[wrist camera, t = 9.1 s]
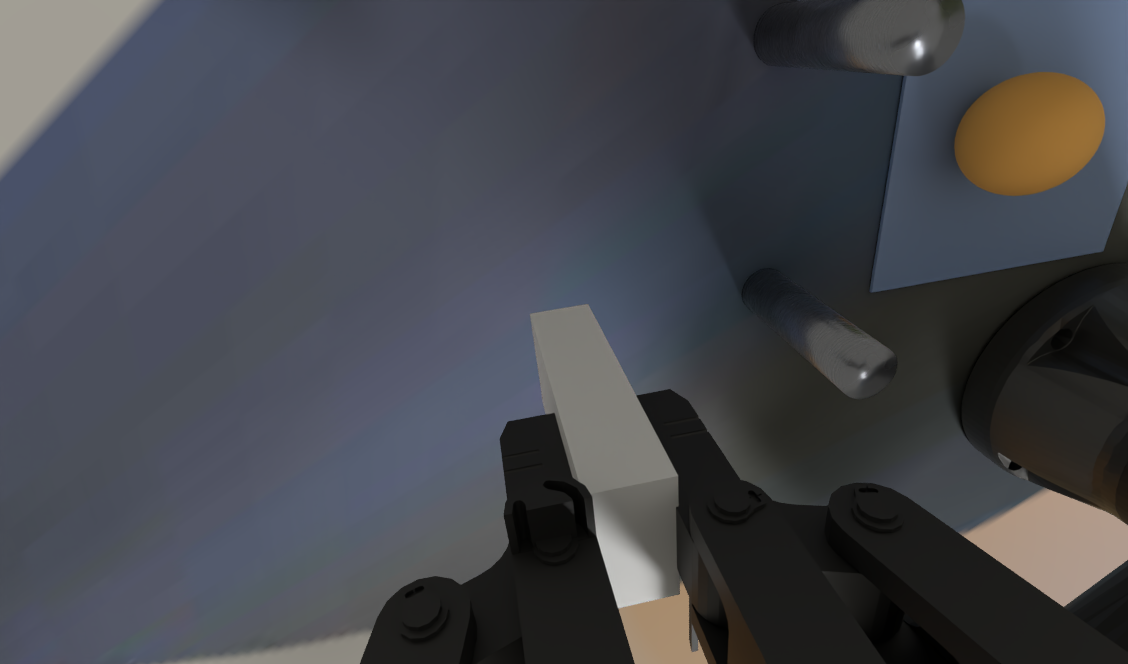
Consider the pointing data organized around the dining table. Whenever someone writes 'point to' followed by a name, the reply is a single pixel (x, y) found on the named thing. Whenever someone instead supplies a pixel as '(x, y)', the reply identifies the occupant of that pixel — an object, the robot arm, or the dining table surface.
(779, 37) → the outer post
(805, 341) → the inner post
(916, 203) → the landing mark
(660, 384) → the dining table surface
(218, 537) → the dining table surface
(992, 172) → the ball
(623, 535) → the robot arm
